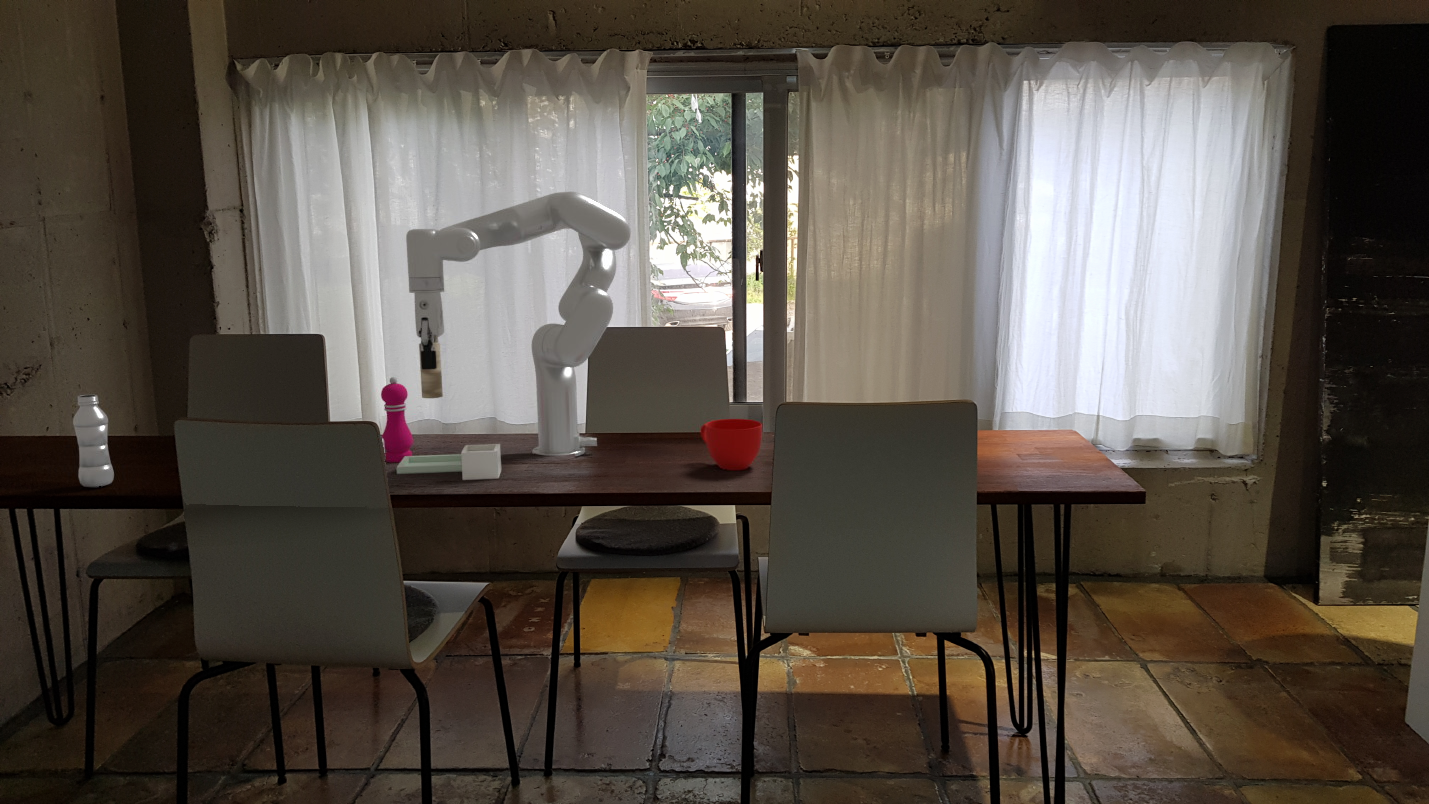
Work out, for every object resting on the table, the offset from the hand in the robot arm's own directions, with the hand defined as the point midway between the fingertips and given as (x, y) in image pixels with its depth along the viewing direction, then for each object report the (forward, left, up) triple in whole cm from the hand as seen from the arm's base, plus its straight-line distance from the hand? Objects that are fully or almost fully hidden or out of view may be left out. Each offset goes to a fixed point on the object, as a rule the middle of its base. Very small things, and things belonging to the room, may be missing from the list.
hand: (430, 366), depth 234 cm
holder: (-11, +9, -24) cm, 28 cm away
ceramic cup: (-66, +5, -24) cm, 71 cm away
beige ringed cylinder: (0, 0, -7) cm, 7 cm away
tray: (0, 0, -24) cm, 24 cm away
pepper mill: (+11, -14, -24) cm, 30 cm away
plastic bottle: (+72, +2, -24) cm, 76 cm away
